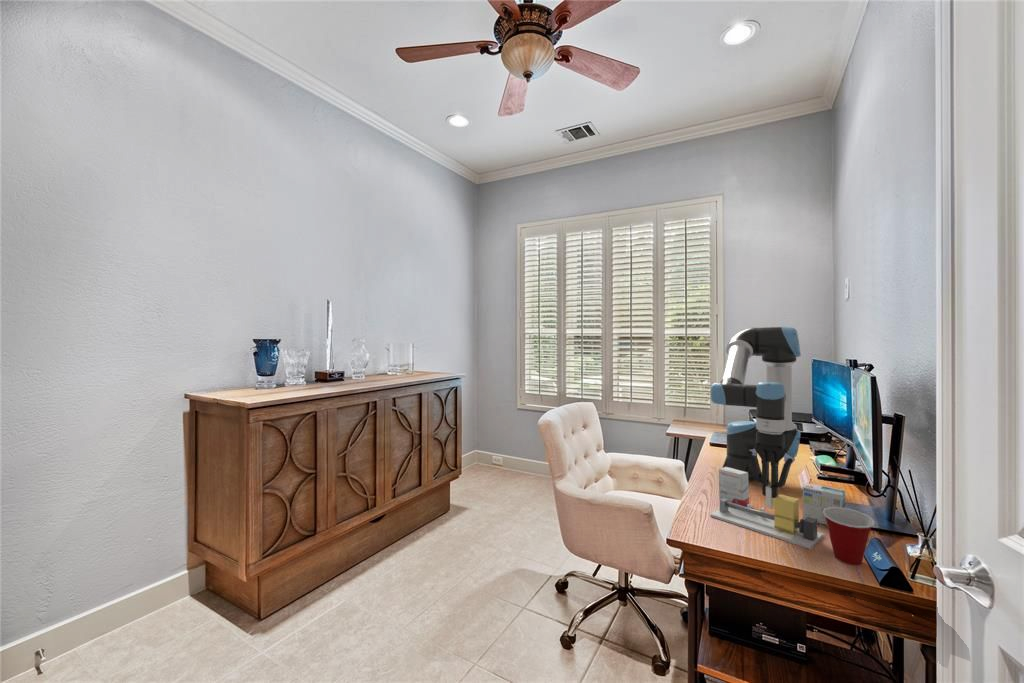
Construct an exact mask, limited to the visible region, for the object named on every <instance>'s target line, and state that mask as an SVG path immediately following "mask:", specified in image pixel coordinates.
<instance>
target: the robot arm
mask: <svg viewBox="0 0 1024 683" xmlns="http://www.w3.org/2000/svg"><path fill="white" fill-rule="evenodd" d="M800 347H801V346H800V340H799V335H798V331H797V329H796V328H794V327H789V326H787V327H785V326H770V327H768V326H767V327H749V328H748V327H747V328H746V329H743V330H741V331H739V332H738V333H736V334H734V335H733V336H732V337H731V339H730V340H729V341H728V342H727V345H726V348H725V351H726V360H725V362H724V366H723V371H722V374H721V377H720V382H714V383H712V384H711V387H710V400H711V402H712V404H715V405H723V406H733V407H746V408H747V407H748V408H756V416H755V417H756V421H751V420H741V421H738V420H737V421H732V422H729V423H728V424H727V425H726V434H725V435H726V457H725V460H724V462H723V465H722V467H721V468H724V467H729V468H733V469H736V470H740V471H744V472H748V482H749V481H751V482H752V481H755V482H756V483H760V484H761V487H762V488H761V489H762V490H761V491H762V495H763V497H765V508H766V509H769V510H772V509H774V498H775V497H777V496H778V495H779V488H783V487H785V486H786V482H787V479H788V476H789V472H790V469H791V466H792V464H793V463H794V462H795V460H796V459H795V458H796V457H797V456H798V452H799V448H800V440H801V430H800V429H797V425H796V424H795V423H794V421H792V420H793V414H792V412H793V409H792V408H793V406H792V405H793V401H792V400H793V397H792V395H793V394H792V393H793V392H792V391H793V390H792V386H793V384H792V380H793V379H792V378H793V377H792V376H793V373H792V371H793V370H792V369H793V368H792V366H793V365H794V364H795V363H796V362H797V358H800V357H801V356H802V355H801V348H800ZM753 356H755V357H761V361H762V362H763V363H764V364H765V365H766V367H765V368H766V369H765V370H766V381H759V382H758V383H756V384H745V380H746V375H747V370H748V364H749V359H750V358H752V357H753ZM758 456H759V458H760V459H761V460H760V461H761V462H760V463H761V467H760V463H759V459H758ZM782 459H783V461H784V464H783V466H782V469H781V473H780V476H779V464H780V461H781V460H782ZM770 470H771V471H770Z"/></svg>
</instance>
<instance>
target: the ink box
mask: <svg viewBox="0 0 1024 683" xmlns="http://www.w3.org/2000/svg"><path fill="white" fill-rule="evenodd" d="M749 489H750V487H749V481H748V472H744V471H740V470H736V469H733V468H729V467H724V468H722V467H721V468H718V492H719V493H718V494H719V495H718V496H719V498H718V499H719V501H720V500H721V499H723V498H725V499H728V502H731V503H734V504H738V505H741V506H745V507H747V504H750V490H749Z"/></svg>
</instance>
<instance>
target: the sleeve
mask: <svg viewBox="0 0 1024 683" xmlns="http://www.w3.org/2000/svg"><path fill="white" fill-rule="evenodd" d="M773 509H774V512H773V515H774V528H776V529H779V530H782V531H786V532H789V533H792V534H794V533H795V532H796V531H797V530H799V528H797V527H795V521H796V522H800V518H799V517H800V499H799V498H796V497H792V496H788V495H785V494H782V493H781V494H778V496H777V497H775V498H774V507H773Z"/></svg>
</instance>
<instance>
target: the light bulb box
mask: <svg viewBox="0 0 1024 683" xmlns="http://www.w3.org/2000/svg"><path fill="white" fill-rule="evenodd" d="M828 507H840V508H846V490H845V489H841V488H836V487H831V486H827V485H825V486H824V485H820V484H814V483H811V482H805V484H804V485H803V486H802V519H806V518H807V517H810V518H814V519H817V524H822V525H825V526H828V524H827V521H826V518H825V516H824V514H823V510H824V509H825V508H828Z"/></svg>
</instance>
